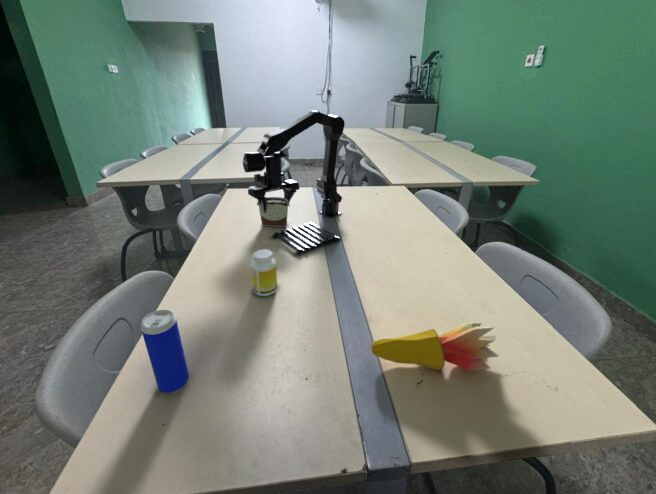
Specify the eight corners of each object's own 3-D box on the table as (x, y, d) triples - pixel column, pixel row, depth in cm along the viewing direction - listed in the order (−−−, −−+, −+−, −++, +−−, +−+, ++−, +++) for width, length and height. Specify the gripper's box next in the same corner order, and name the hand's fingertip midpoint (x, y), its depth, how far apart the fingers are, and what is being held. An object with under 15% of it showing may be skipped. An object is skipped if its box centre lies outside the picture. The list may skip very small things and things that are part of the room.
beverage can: (165, 371, 60) (148, 308, 54) (193, 370, 61) (179, 307, 54) (153, 396, 55) (133, 330, 49) (183, 394, 56) (167, 329, 50)
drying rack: (312, 224, 123) (312, 221, 123) (339, 240, 112) (339, 236, 112) (272, 237, 112) (272, 233, 112) (297, 255, 101) (297, 251, 101)
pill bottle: (281, 285, 86) (279, 250, 82) (269, 299, 81) (267, 262, 76) (261, 281, 88) (258, 246, 83) (249, 293, 83) (245, 257, 78)
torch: (372, 368, 67) (491, 357, 66) (376, 385, 59) (511, 373, 58) (368, 329, 67) (486, 317, 67) (371, 340, 59) (505, 327, 59)
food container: (293, 221, 125) (293, 197, 122) (290, 227, 119) (289, 201, 116) (263, 220, 126) (261, 196, 123) (258, 225, 120) (256, 200, 117)
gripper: (283, 162, 125) (285, 199, 131) (239, 168, 114) (243, 208, 120) (300, 168, 117) (300, 207, 124) (254, 175, 106) (257, 218, 113)
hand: (275, 209), depth 120 cm, fingers open, 9 cm apart
